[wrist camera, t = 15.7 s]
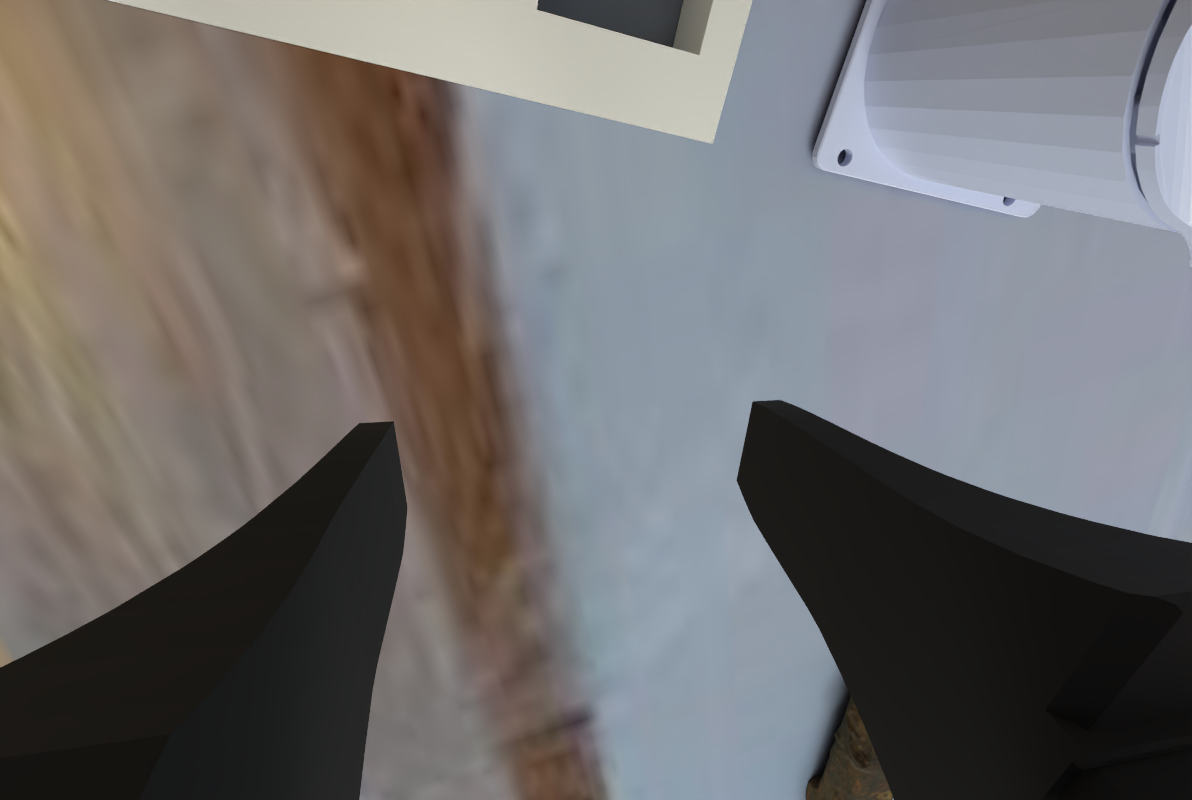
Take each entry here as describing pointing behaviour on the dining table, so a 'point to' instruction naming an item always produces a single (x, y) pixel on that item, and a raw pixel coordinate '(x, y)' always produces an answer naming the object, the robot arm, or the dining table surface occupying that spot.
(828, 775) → the hand tool
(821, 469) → the robot arm
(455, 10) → the rack
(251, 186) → the dining table surface
